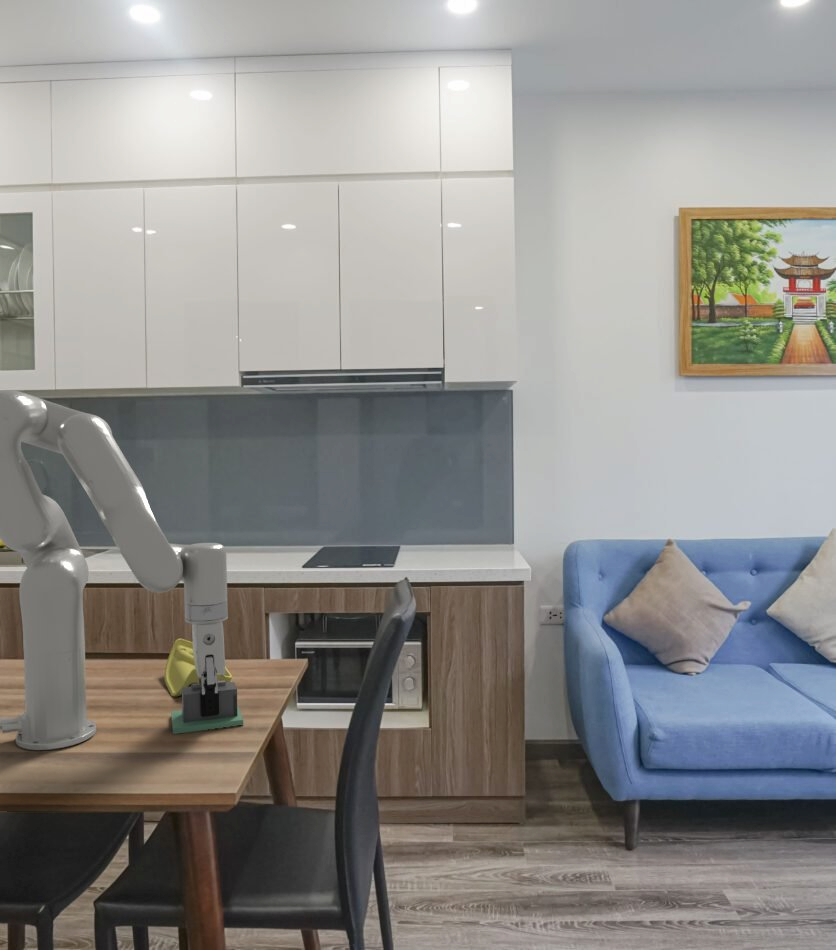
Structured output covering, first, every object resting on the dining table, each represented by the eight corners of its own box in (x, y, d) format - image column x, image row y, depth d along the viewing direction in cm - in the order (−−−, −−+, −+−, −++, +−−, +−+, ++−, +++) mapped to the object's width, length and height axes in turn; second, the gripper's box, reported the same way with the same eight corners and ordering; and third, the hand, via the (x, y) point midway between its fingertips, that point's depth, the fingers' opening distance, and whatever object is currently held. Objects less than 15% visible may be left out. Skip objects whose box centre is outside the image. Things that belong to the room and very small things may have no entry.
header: (173, 733, 135) (172, 708, 134) (171, 716, 143) (171, 692, 143) (243, 725, 139) (242, 700, 139) (237, 708, 147) (237, 685, 147)
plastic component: (235, 679, 158) (190, 665, 153) (219, 713, 157) (173, 699, 153) (213, 649, 175) (172, 635, 171) (198, 679, 175) (157, 666, 170)
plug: (183, 722, 137) (183, 691, 137) (182, 714, 142) (181, 684, 141) (237, 716, 141) (237, 685, 140) (234, 708, 145) (234, 678, 144)
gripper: (232, 619, 133) (235, 723, 134) (223, 600, 149) (225, 693, 150) (187, 623, 131) (190, 729, 132) (182, 604, 147) (185, 698, 148)
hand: (208, 709), depth 141 cm, fingers closed on plug, 4 cm apart
